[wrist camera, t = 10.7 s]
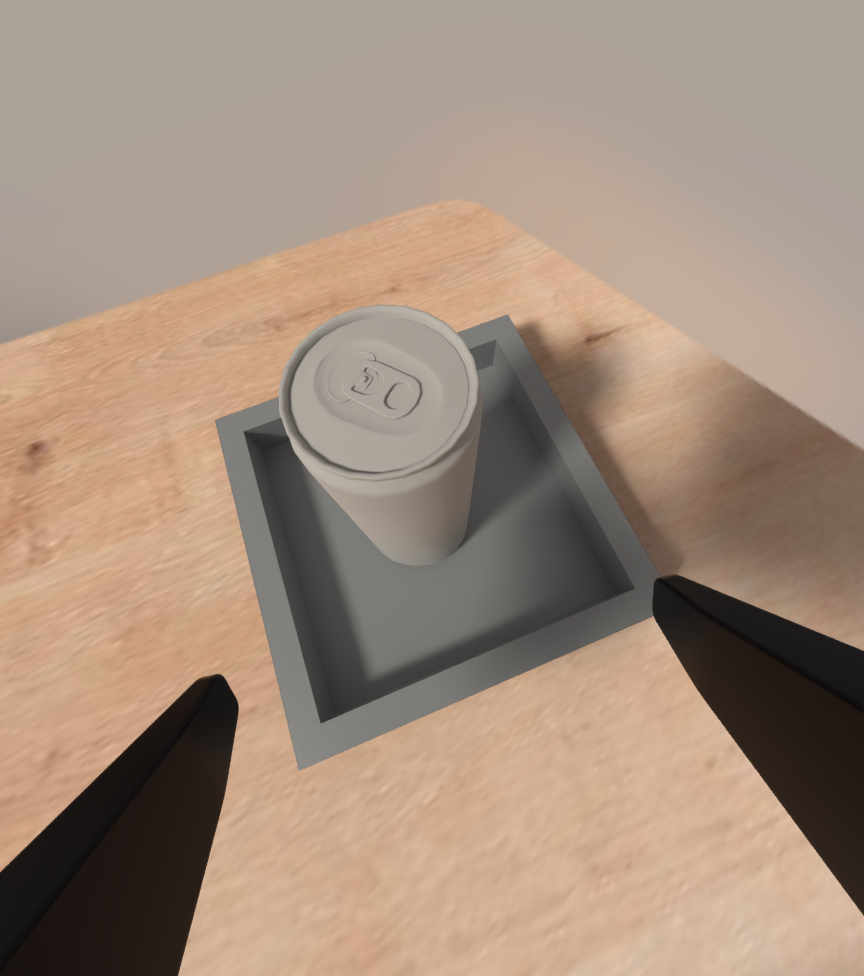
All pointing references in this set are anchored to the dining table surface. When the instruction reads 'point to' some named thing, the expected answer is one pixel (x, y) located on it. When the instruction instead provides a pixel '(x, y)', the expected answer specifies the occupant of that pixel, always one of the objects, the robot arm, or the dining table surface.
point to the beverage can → (389, 425)
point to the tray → (434, 566)
